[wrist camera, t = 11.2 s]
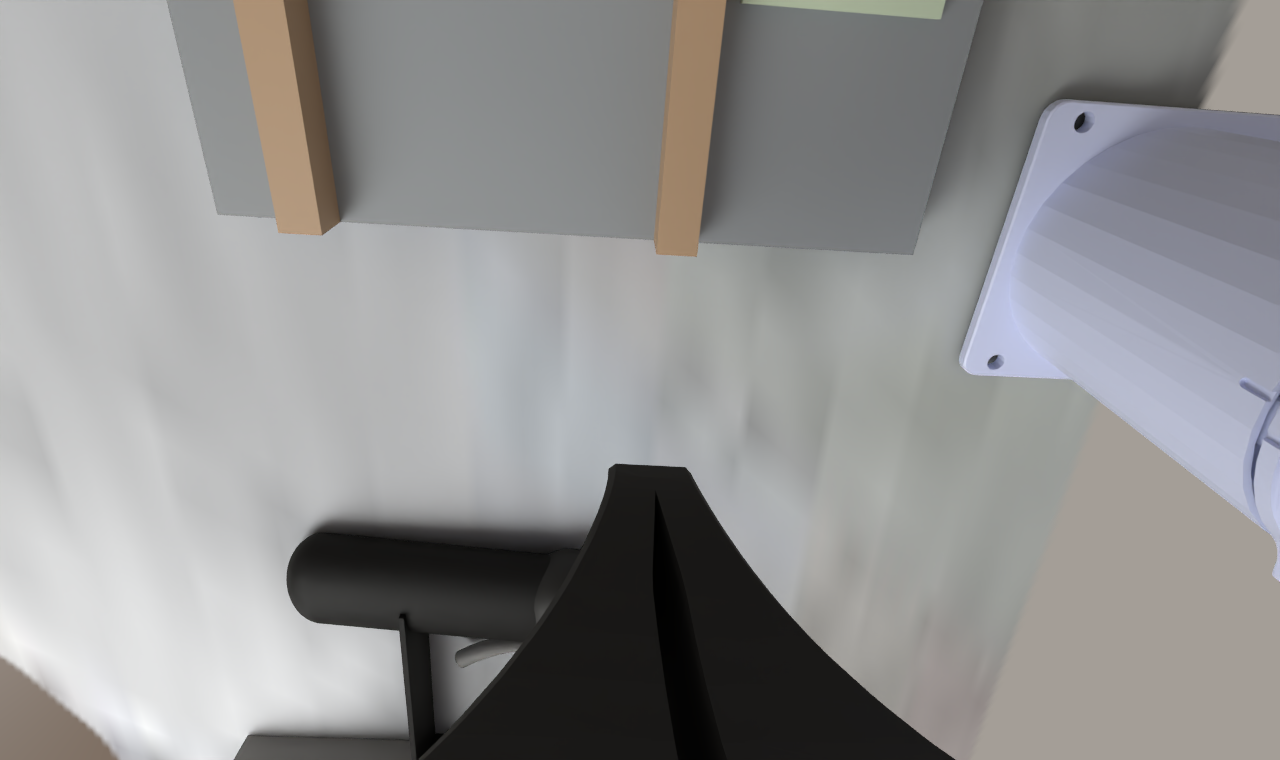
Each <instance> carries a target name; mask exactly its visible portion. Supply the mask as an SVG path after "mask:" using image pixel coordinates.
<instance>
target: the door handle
mask: <svg viewBox="0 0 1280 760" xmlns="http://www.w3.org/2000/svg"><path fill="white" fill-rule="evenodd" d="M579 553H580V550H575V549H562V550H558V551H554V552H552V553H550V554H548V555H547V554H537V553H527V552H516V551H506V550H496V549H486V548H475V547H465V546H455V545H445V544H434V543H424V542H414V541H404V540H393V539H383V538H373V537H363V536H352V535H342V534H332V533H318V534H315V535H312V536H310V537H308V538H306V539H305V540H304V541H302V542H301V543H300V544H299V545H298V547H297V548H296V549H295V551H294V552H293V554H292V556H291V559H290V561H289V565H288V569H287V588H288V593H289V596H290V599H291V601H292V603H293V605H294V607H295V608H296V609H297V611H298V612H299V613H300V614H301V615H302V616H304V617H305V618H306V619H308V620H310V621H313V622H316V623H322V624H333V625H344V626H355V627H365V628H376V629H387V630H397V631H399V632H400V642H401V653H402V663H403V674H404V684H405V695H406V705H407V716H408V726H409V737H410V740H384V739H351V738H318V737H284V736H251V735H248V736H247V738H246V739H245V741H244V743H243V745H242V746H241V748H240V750H239V752H238V753H237V755H236V757H235V759H234V760H418V759H419V758H420V757H421V756H422V755H423V754H424V753H425V752H426V751H427V750H428V749H430V748H431V747H432V746H433V745H434V744H435V743H436V742H437V741H438V740H439V739H440V738H441V737H442V736H443V735H444V734H439V733H435V722H434V707H433V692H432V676H431V661H430V646H429V634H440V635H451V636H462V637H472V638H483V639H488V640H484V641H481V642H478V643H475V644H473V645H470V646H468V647H466V648H463V649H461V650H459V651H458V652H457V653H456V655H455V660H456V663H457V665H458V666H459V667H461V668H464V667H466V666H468V665H470V664H472V663H475V662H477V661H480V660H482V659H485V658H488V657H492V656H495V655H499V654H503V653H509V652H516V651H517V650H518V648H519V647H520V646H521V644H522V643H523V642H524V640H525V639H526V638H527V636H528V635H529V634H530V632H531V631H532V630H533V628H534V627H535V625H536V624H537V623H538V621H539V620H540V618H541V617H542V615H543V614H544V612H545V611H546V609H547V608H548V606H549V605H550V603H551V602H552V600H553V598H554V597H555V595H556V594H557V592H558V590H559V589H560V587H561V585H562V584H563V582H564V580H565V579H566V577H567V575H568V573H569V571H570V569H571V567H572V566H573V564H574V562H575V560H576V558H577V556H578V555H579Z"/></svg>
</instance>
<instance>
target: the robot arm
mask: <svg viewBox="0 0 1280 760" xmlns="http://www.w3.org/2000/svg"><path fill="white" fill-rule="evenodd" d="M1083 112H1084V114H1085V121H1084V123H1083V125H1082V126H1081V127H1080V128H1079V129H1077V130H1075V129H1074V123H1075V120H1076V119H1077V117H1078V116H1079V115H1080V114H1082V113H1083ZM994 355H998V357H997V359H996V360H995V361H994V362H992V363H990V364H987V363H988V360H989V359H990V358H991V357H992V356H994ZM959 363H960V365H961V367H962V368H963V369H964V370H965V371H967V372H968V373H969V374H973V375H987V376H1009V377H1031V378H1053V379H1072V380H1073V381H1074V382H1076V383H1077V384H1078V385H1079V386H1081V387H1082V388H1083V389H1084V390H1086V391H1087V392H1088V393H1090V394H1091V395H1092V396H1093V397H1095V398H1096V399H1097V400H1099V401H1100V402H1101V403H1102V404H1104V405H1105V406H1106V407H1108V408H1109V409H1110V410H1111V411H1113V412H1114V413H1115V414H1117V415H1118V416H1119V417H1120V418H1122V419H1123V420H1124V421H1125V422H1127V423H1128V424H1129V425H1131V426H1132V427H1133V428H1134V429H1136V430H1137V431H1138V432H1140V433H1141V434H1142V435H1143V436H1145V437H1146V438H1147V439H1149V440H1150V441H1151V442H1152V443H1154V444H1155V445H1156V446H1157V447H1159V448H1160V449H1161V450H1162V451H1164V452H1165V453H1166V454H1168V455H1169V456H1170V457H1172V458H1173V459H1174V460H1175V461H1177V462H1178V463H1179V464H1180V465H1182V466H1183V467H1184V468H1186V469H1187V470H1188V471H1189V472H1191V473H1192V474H1193V475H1195V476H1196V477H1197V478H1198V479H1200V480H1201V481H1202V482H1203V483H1205V484H1206V485H1207V486H1209V487H1210V488H1211V489H1212V490H1214V491H1215V492H1216V493H1217V494H1219V495H1220V496H1221V497H1223V498H1224V499H1225V500H1226V501H1228V502H1229V503H1230V504H1232V505H1233V506H1234V507H1236V508H1237V509H1238V510H1239V511H1241V512H1242V513H1243V514H1244V515H1246V516H1247V517H1248V518H1250V519H1251V520H1252V521H1253V522H1255V523H1256V524H1257V525H1259V526H1260V527H1261V528H1262V529H1264V530H1265V531H1266V532H1268V533H1269V534H1271V535H1272V537H1273V539H1274V540H1275V542H1276V545H1277V551H1278V554H1277V561H1276V564H1275V566H1274V569H1273V574H1272V575H1273V577H1275V578H1276V579H1277V580H1278V581H1279V582H1280V115H1272V114H1258V113H1245V112H1232V111H1218V110H1206V109H1193V108H1180V107H1166V106H1153V105H1140V104H1126V103H1113V102H1100V101H1087V100H1073V99H1061V100H1057V101H1055V102H1053V103H1051V104H1050V105H1049V106H1048V107H1047V108H1046V109H1045V110H1044V111H1043V113H1042V115H1041V117H1040V119H1039V122H1038V125H1037V128H1036V131H1035V134H1034V137H1033V140H1032V143H1031V146H1030V149H1029V152H1028V155H1027V158H1026V161H1025V164H1024V167H1023V170H1022V173H1021V176H1020V179H1019V182H1018V185H1017V187H1016V190H1015V193H1014V196H1013V199H1012V202H1011V205H1010V208H1009V211H1008V214H1007V217H1006V220H1005V223H1004V226H1003V229H1002V232H1001V235H1000V238H999V241H998V244H997V247H996V250H995V253H994V256H993V258H992V261H991V264H990V267H989V270H988V273H987V276H986V279H985V282H984V285H983V288H982V291H981V294H980V297H979V300H978V303H977V306H976V309H975V312H974V315H973V318H972V321H971V324H970V327H969V329H968V332H967V335H966V338H965V341H964V344H963V347H962V350H961V353H960V357H959ZM418 760H955V759H954V758H952V757H951V756H949V755H948V754H947V753H945V752H944V751H942V750H941V749H939V748H938V747H937V746H935V745H934V744H932V743H931V742H930V741H928V740H927V739H926V738H925V737H923V736H922V735H921V734H919V733H918V732H917V731H916V730H914V729H913V728H912V727H911V726H909V725H908V724H907V723H906V722H904V721H903V720H902V719H901V718H899V717H898V716H897V715H895V714H894V713H893V712H892V711H890V710H889V709H888V708H887V707H885V706H884V705H883V704H882V703H881V702H880V701H878V700H877V699H876V698H875V697H874V696H872V695H871V694H870V693H869V692H868V691H867V690H866V689H865V688H863V687H862V686H861V685H860V684H859V683H858V682H857V681H856V680H855V679H853V678H852V677H851V676H850V675H849V674H848V673H847V672H846V671H845V670H844V669H842V668H841V667H840V666H839V665H838V664H837V663H836V662H835V661H834V660H833V659H831V658H830V657H829V656H828V655H827V654H826V653H825V652H824V651H823V650H822V649H821V648H820V647H819V646H818V645H817V644H816V643H815V642H814V641H813V640H812V639H811V638H810V637H809V636H808V635H807V634H806V632H805V631H804V630H803V629H802V628H801V627H800V626H799V625H798V624H797V623H796V622H795V621H794V619H793V618H792V617H791V616H790V615H789V614H788V613H787V612H786V610H785V609H784V608H783V607H782V606H781V605H780V604H779V602H778V601H777V600H776V599H775V598H774V596H773V595H772V594H771V593H770V592H769V590H768V589H767V588H766V586H765V585H764V584H763V583H762V581H761V580H760V579H759V578H758V576H757V575H756V574H755V573H754V571H753V570H752V569H751V567H750V566H749V565H748V563H747V562H746V561H745V559H744V558H743V556H742V555H741V554H740V552H739V551H738V549H737V548H736V546H735V545H734V543H733V542H732V541H731V539H730V538H729V536H728V535H727V533H726V532H725V530H724V529H723V527H722V526H721V524H720V523H719V521H718V520H717V518H716V517H715V515H714V513H713V512H712V510H711V508H710V507H709V505H708V504H707V502H706V500H705V498H704V497H703V495H702V493H701V491H700V490H699V488H698V486H697V484H696V482H695V481H694V479H693V477H692V475H691V473H690V472H689V471H688V470H687V469H686V467H669V466H649V465H630V464H615V465H613V466H612V467H611V468H609V471H608V481H607V486H606V490H605V493H604V497H603V500H602V502H601V505H600V508H599V511H598V513H597V516H596V518H595V520H594V523H593V525H592V527H591V530H590V532H589V534H588V536H587V539H586V541H585V543H584V545H583V547H582V549H581V551H580V553H579V555H578V556H577V558H576V560H575V562H574V564H573V566H572V567H571V569H570V571H569V573H568V575H567V577H566V579H565V580H564V582H563V584H562V585H561V587H560V589H559V590H558V592H557V594H556V595H555V597H554V598H553V600H552V602H551V603H550V605H549V606H548V608H547V609H546V611H545V612H544V614H543V615H542V617H541V618H540V620H539V621H538V623H537V624H536V625H535V627H534V628H533V630H532V631H531V632H530V634H529V635H528V636H527V638H526V639H525V640H524V642H523V643H522V644H521V646H520V647H519V648H518V650H517V651H516V652H515V654H514V655H513V656H512V658H511V659H510V660H509V661H508V663H507V664H506V665H505V667H504V668H503V669H502V670H501V671H500V673H499V674H498V675H497V676H496V677H495V679H494V680H493V681H492V682H491V683H490V684H489V685H488V686H487V688H486V689H485V690H484V691H483V692H482V693H481V694H480V696H479V697H478V698H477V699H476V700H475V701H474V702H473V703H472V705H471V706H470V707H469V708H468V709H467V710H466V711H465V712H464V714H463V715H462V716H461V717H460V718H459V719H458V720H457V721H456V722H455V723H454V725H453V726H452V727H451V728H450V729H449V730H448V731H447V732H446V733H445V734H444V735H443V736H442V737H441V738H440V739H439V740H438V741H437V742H436V743H435V744H434V745H433V746H432V747H431V748H430V749H428V750H427V751H426V752H425V753H424V754H423V755H422V756H421V757H420V758H419V759H418Z"/></svg>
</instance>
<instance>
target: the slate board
mask: <svg viewBox="0 0 1280 760" xmlns="http://www.w3.org/2000/svg"><path fill="white" fill-rule="evenodd" d="M167 4H168V8H169V13H170V17H171V21H172V25H173V29H174V34H175V38H176V42H177V46H178V50H179V55H180V59H181V63H182V67H183V71H184V76H185V80H186V84H187V88H188V92H189V97H190V101H191V105H192V109H193V113H194V118H195V122H196V126H197V130H198V134H199V139H200V143H201V147H202V151H203V155H204V160H205V164H206V168H207V172H208V176H209V181H210V185H211V189H212V193H213V197H214V202H215V206H216V210H217V214H218V215H231V216H248V217H265V218H276V222H277V227H278V232H279V233H288V234H306V235H323V234H325V233H326V232H327V231H329V230H330V229H331V228H333V227H334V226H335V225H337V224H338V223H339V222H352V223H369V224H386V225H403V226H421V227H438V228H455V229H472V230H490V231H507V232H524V233H541V234H559V235H576V236H593V237H610V238H627V239H645V240H654V243H655V249H656V254H660V255H677V256H695V257H697V251H698V243H714V244H731V245H748V246H765V247H783V248H800V249H817V250H834V251H852V252H869V253H886V254H903V255H913V253H914V249H915V246H916V242H917V238H918V235H919V231H920V228H921V224H922V220H923V217H924V213H925V210H926V206H927V202H928V199H929V195H930V192H931V188H932V184H933V181H934V177H935V174H936V170H937V166H938V163H939V159H940V155H941V152H942V148H943V145H944V141H945V137H946V134H947V130H948V127H949V123H950V119H951V116H952V112H953V109H954V105H955V101H956V98H957V94H958V91H959V87H960V83H961V80H962V76H963V73H964V69H965V65H966V62H967V58H968V55H969V51H970V47H971V44H972V40H973V36H974V33H975V29H976V26H977V22H978V18H979V15H980V11H981V8H982V4H983V0H167Z"/></svg>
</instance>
